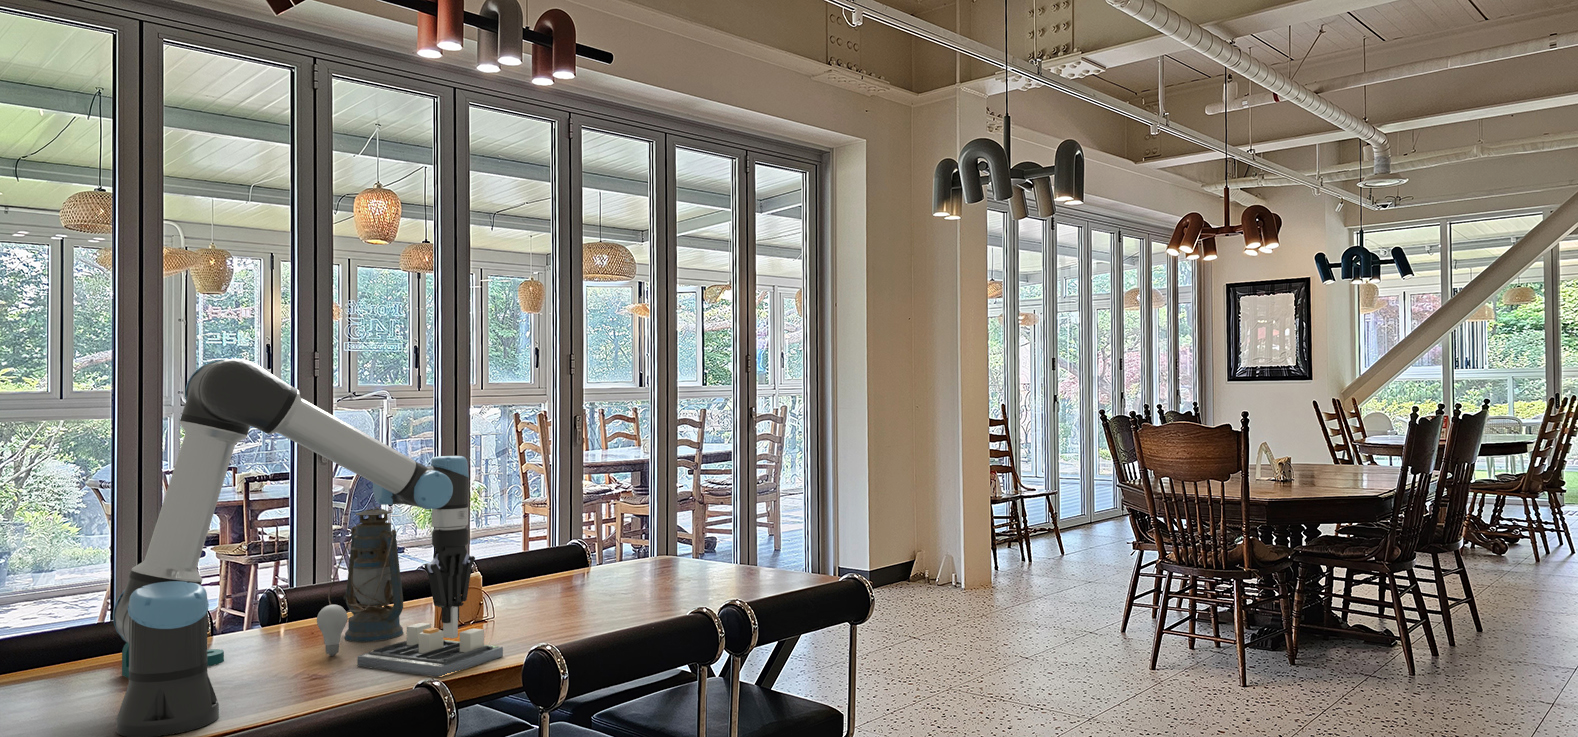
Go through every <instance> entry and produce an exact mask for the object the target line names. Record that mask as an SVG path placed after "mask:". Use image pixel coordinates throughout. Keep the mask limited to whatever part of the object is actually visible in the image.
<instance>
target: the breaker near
mask: <svg viewBox="0 0 1578 737" xmlns="http://www.w3.org/2000/svg"><path fill="white" fill-rule="evenodd" d="M459 642H460V652H467V651H470V650H473V649H477V648H480V647H483V646H484V645H485V629H483V628H482V629H481V628H469V629H466V630H463V631H460V632H459Z"/></svg>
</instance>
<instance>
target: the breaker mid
mask: <svg viewBox="0 0 1578 737" xmlns="http://www.w3.org/2000/svg"><path fill="white" fill-rule="evenodd" d="M443 640H444V637H443V629H442V630H441V629H439V627H431V628H428V629H425V630H423V632H422V633H419V653H426V652H429V651H432V650H436V649H439V648H442V647H443Z"/></svg>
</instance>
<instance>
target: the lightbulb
mask: <svg viewBox="0 0 1578 737" xmlns="http://www.w3.org/2000/svg"><path fill="white" fill-rule="evenodd" d="M348 619H349V617H348V613H346V610H345V609H344V607H343V606H341V605H338V604H332V605H330V604H329V605H326V606H324V607H322V608H321V610H320V611H319V612H318V614H317V617H316V624H317V627H318V628H319V630H320V632H321V634H322V637H323V643H324V646H325V653H326V655H329V657H333V656H336V654H338V653H339V651H340V643H341V637H342V633H343V630H344V629H345V628H346V625H347V622H348Z"/></svg>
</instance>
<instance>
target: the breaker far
mask: <svg viewBox="0 0 1578 737" xmlns="http://www.w3.org/2000/svg"><path fill="white" fill-rule="evenodd" d="M428 628H432V623H428V622H427V623H425V622H419V623H415V624H410V625H407V626H406V640H407V645H415V644H418V643H419V633H422V632H423V630H425V629H428Z"/></svg>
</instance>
